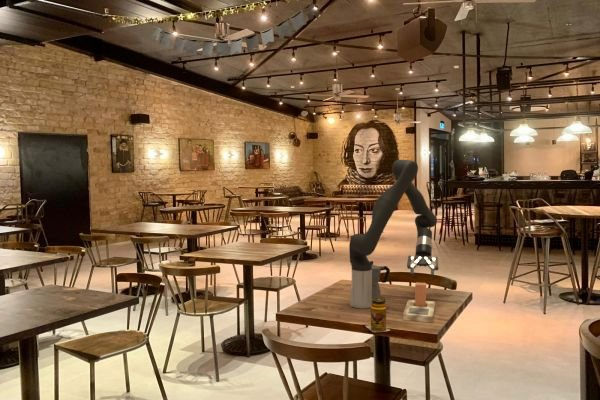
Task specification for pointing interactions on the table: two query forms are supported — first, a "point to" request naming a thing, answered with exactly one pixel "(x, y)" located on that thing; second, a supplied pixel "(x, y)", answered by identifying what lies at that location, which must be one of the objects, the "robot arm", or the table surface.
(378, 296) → the coffeepot
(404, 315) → the puzzle board
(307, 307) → the table surface
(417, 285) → the block
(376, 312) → the condiment
